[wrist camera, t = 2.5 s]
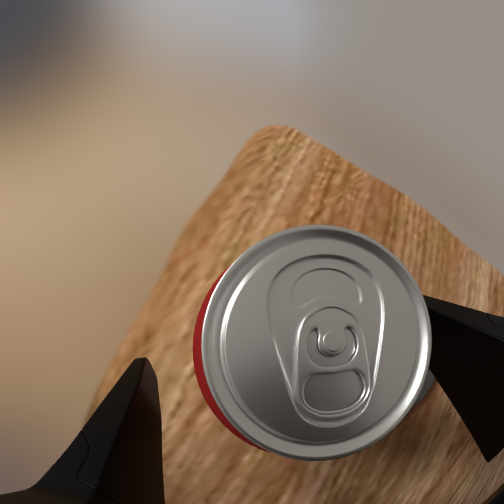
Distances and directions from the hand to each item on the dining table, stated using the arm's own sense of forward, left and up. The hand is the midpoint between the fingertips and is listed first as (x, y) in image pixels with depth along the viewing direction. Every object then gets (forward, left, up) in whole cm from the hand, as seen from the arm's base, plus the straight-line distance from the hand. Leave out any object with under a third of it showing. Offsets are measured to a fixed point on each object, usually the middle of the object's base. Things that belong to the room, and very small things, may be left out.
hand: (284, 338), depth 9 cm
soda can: (0, 0, -8) cm, 8 cm away
